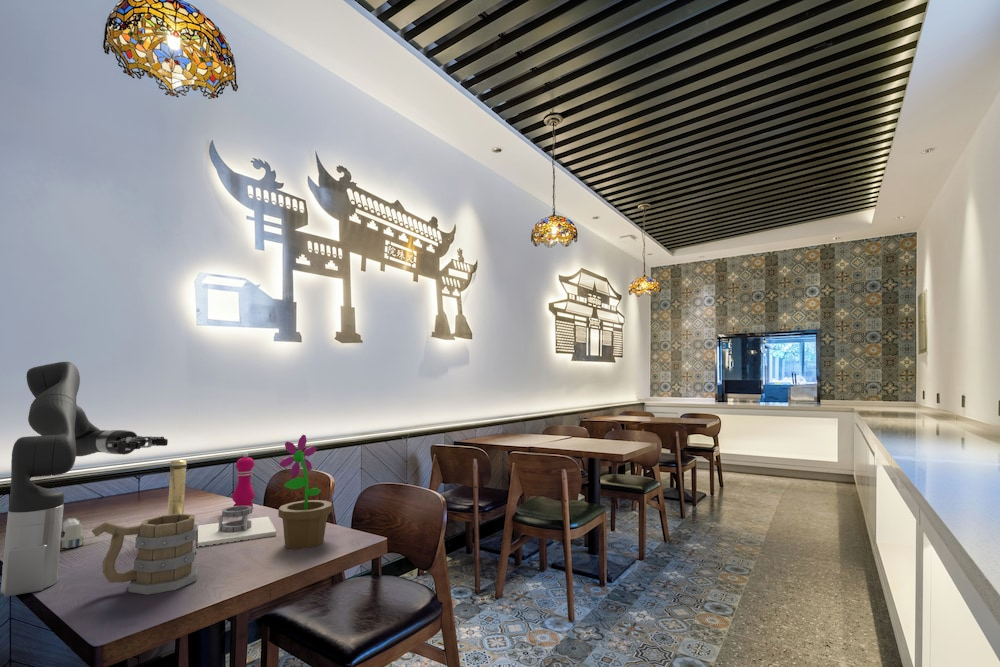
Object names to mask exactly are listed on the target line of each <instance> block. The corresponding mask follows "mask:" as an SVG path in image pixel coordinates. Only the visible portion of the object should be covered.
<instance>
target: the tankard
mask: <svg viewBox="0 0 1000 667" xmlns="http://www.w3.org/2000/svg"><path fill="white" fill-rule="evenodd" d="M195 519H196V515H195V514H190V513H184V514H172V515H168V514H165V515H161V516H160V515H158V516H155V517H151V518H148V519H144V520H143V521H141V524H140V525H133V526H122V525H119V524H118V525H117V524H115V523H111V522H108V521H105V522H103V523H101V524H99V525H98V526H95V527H94V528H93V529H91V533H92V534H93V535H94V536H95V537H98V536H100V535H101V534H103V533H107V534H110V535H111V540H110V545H109V547H108V550H107V553H106V555H105V556H104V558H103V561H102V572H101V573H103V576H104V577H105V579H106V581H108V583H110V584H111V583H117V584H118V583H119V584H120V583H121V584H122V583H127V582H129V584H128V588H127V589H128V593H133V594H138V595H145V596H149V595H154V594H155V595H156V594H160V593H161V594H162V593H167V592H173V591H176V590H178V589H181V588H183V587H185V586H189V585H190V584H193V583H194V582H196V581H197V579H198V573H199V566H197V565H193V563H194V562H195V559H196V555H197V553H198V552H197V546H196V545H194V541H196V538H197V536H198V524H195ZM133 535H136V536H135V546H134V548H136V549H137V550H138V552H137V555H136V557H135V558H134V560H133V569H130V570H127V571H118V570H117V568H116V560H117V558H118V556H119V554H120V552H121V550H122V548H123V545H124V539H125V536H133Z"/></svg>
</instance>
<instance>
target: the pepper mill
mask: <svg viewBox="0 0 1000 667" xmlns="http://www.w3.org/2000/svg"><path fill="white" fill-rule="evenodd" d="M254 466H255V461H254V459H253V458H252V457H249V453H248V452H244V453H243V454H242V457H241V458H239V459H238V460H236V463H235V468H236V470H237V471H236V473H237V474H236V476H237V478H238V479H237V480H238V481H237V485H236V487H235V489H234V491H233V493H232V498H231V499H232V501H233V502H234V504H233V506H252V509H253V508H254V503H253V502H252V501H253V500H254V498H255V496H256V495H255V490H254V488H253V485H252V483H251V482H252V481H251V477H252V475H253V470H252V469H253V468H254Z"/></svg>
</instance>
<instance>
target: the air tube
mask: <svg viewBox="0 0 1000 667" xmlns="http://www.w3.org/2000/svg"><path fill="white" fill-rule="evenodd" d="M187 461H188V460H186V459H176V460H175V459H174V460H171V461H170V465H169V469H170V472H169V486H168V489H169V490H168V500H167V502H168V504H167V506H168V507H167V515H172V514H185V513H184V511H185V494H186V480H187V479H186V476H187V474H186V473H187V467H188V463H187Z"/></svg>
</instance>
